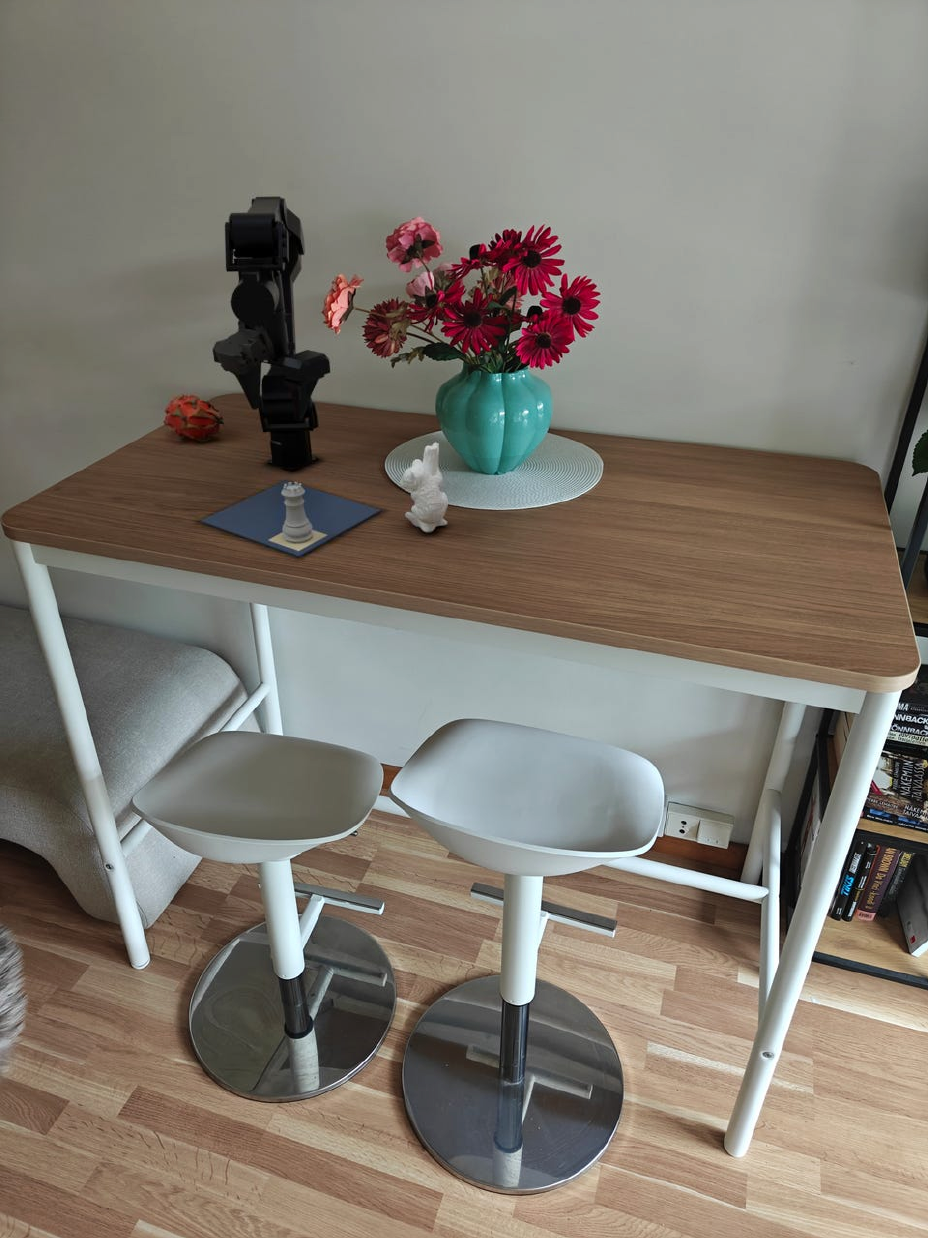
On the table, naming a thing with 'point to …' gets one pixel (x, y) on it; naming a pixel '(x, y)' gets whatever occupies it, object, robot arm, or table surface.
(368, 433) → the table surface
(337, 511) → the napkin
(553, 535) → the table surface
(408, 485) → the white bunny statuette
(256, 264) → the robot arm
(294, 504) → the rook chess piece
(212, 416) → the dragon fruit
